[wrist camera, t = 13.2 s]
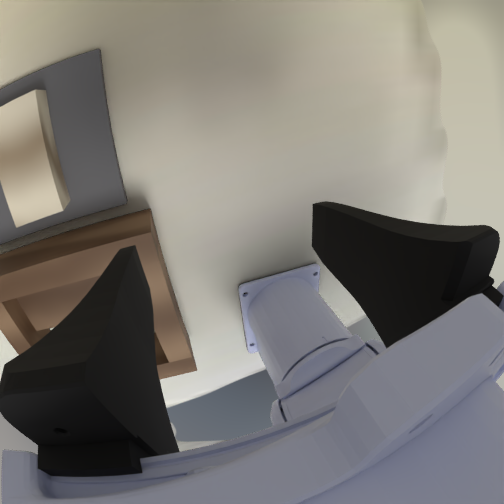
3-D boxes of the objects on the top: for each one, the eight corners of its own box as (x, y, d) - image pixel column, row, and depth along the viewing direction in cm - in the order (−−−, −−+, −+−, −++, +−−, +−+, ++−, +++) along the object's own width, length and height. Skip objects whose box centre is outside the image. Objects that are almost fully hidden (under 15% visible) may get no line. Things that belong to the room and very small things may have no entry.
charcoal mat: (127, 200, 19) (126, 203, 18) (-2, 242, 16) (-5, 246, 16) (100, 50, 13) (98, 48, 13) (-37, 114, 10) (-41, 115, 10)
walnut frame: (189, 338, 27) (197, 370, 24) (59, 366, 24) (55, 396, 20) (150, 208, 20) (151, 232, 16) (-9, 257, 16) (-27, 285, 13)
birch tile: (70, 200, 17) (63, 210, 15) (26, 216, 16) (16, 227, 14) (46, 90, 12) (35, 89, 11) (-1, 112, 12) (-15, 115, 10)
